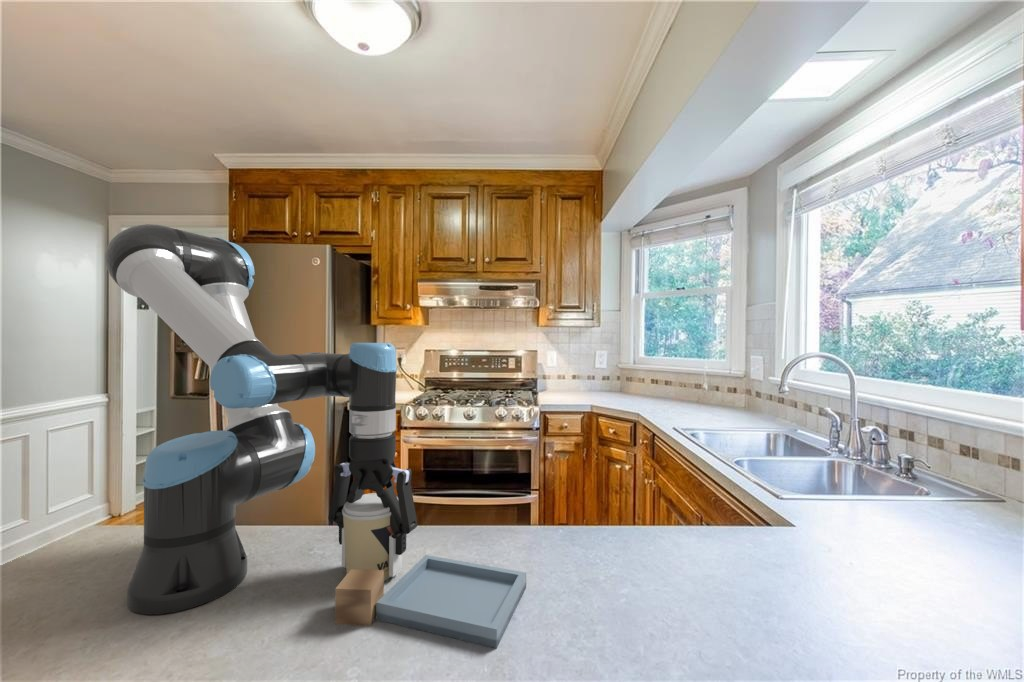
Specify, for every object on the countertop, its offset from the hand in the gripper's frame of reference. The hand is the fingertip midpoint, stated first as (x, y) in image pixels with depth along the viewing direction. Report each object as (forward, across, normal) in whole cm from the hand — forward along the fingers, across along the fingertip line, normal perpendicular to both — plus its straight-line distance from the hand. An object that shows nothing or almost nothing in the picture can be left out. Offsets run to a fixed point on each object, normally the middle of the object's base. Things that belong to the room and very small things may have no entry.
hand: (371, 567), depth 71 cm
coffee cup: (+1, 0, 0) cm, 1 cm away
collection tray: (+1, +17, -3) cm, 17 cm away
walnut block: (+1, +5, -10) cm, 11 cm away
